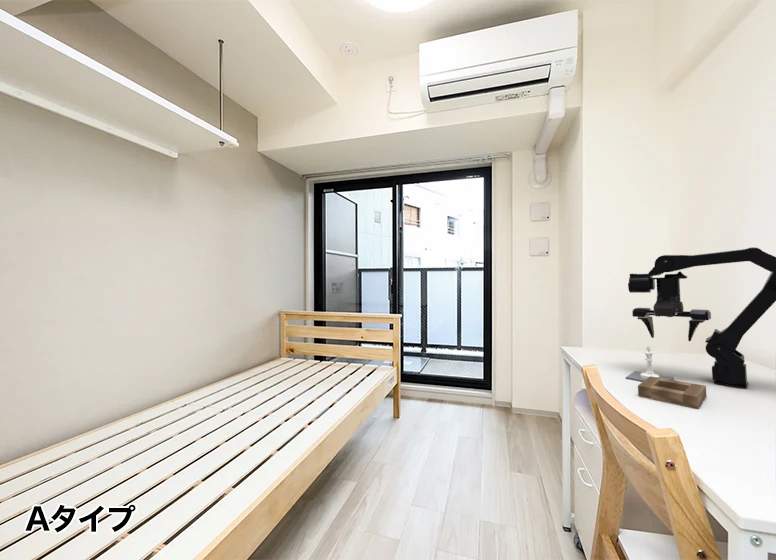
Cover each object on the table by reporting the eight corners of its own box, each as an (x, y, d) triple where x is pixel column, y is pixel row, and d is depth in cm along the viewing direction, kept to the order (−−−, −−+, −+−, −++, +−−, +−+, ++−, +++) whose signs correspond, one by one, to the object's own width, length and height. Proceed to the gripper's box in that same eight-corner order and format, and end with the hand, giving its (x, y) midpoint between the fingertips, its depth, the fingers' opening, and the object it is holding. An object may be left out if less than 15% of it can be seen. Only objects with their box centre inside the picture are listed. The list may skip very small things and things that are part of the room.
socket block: (706, 396, 84) (706, 385, 84) (698, 409, 77) (697, 397, 77) (650, 386, 94) (649, 376, 94) (638, 396, 87) (637, 385, 87)
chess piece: (647, 379, 98) (646, 348, 98) (636, 375, 103) (634, 345, 103) (664, 379, 98) (662, 347, 98) (652, 374, 103) (650, 344, 103)
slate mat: (673, 378, 99) (673, 377, 99) (665, 386, 93) (665, 384, 93) (635, 372, 107) (635, 370, 107) (625, 378, 101) (625, 377, 101)
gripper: (626, 293, 105) (628, 339, 105) (703, 294, 90) (706, 347, 90) (636, 292, 112) (638, 335, 112) (710, 292, 97) (712, 341, 97)
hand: (670, 339), depth 103 cm, fingers open, 9 cm apart
